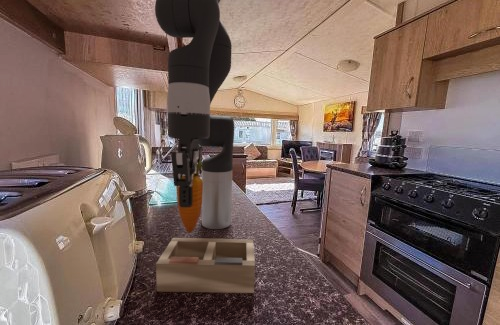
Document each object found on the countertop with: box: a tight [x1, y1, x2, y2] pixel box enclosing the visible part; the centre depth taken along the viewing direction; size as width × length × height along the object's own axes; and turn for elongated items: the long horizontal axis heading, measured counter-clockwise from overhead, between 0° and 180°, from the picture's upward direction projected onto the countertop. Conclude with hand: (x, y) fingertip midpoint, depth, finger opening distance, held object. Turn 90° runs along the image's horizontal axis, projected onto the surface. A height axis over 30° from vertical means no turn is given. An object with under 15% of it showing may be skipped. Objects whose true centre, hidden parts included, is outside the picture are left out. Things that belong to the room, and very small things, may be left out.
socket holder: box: [155, 237, 256, 294], centre depth 45 cm, size 10×18×6 cm, turn 91°
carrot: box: [175, 163, 203, 234], centre depth 43 cm, size 5×5×15 cm
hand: (189, 201), depth 44 cm, fingers closed on carrot, 5 cm apart
